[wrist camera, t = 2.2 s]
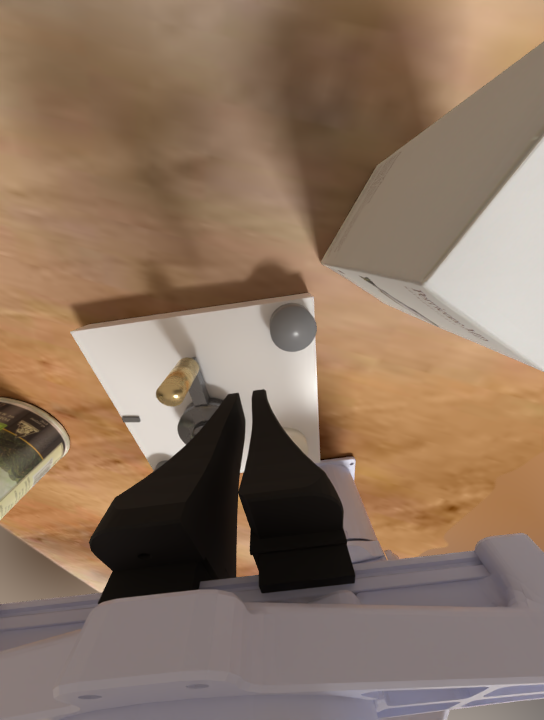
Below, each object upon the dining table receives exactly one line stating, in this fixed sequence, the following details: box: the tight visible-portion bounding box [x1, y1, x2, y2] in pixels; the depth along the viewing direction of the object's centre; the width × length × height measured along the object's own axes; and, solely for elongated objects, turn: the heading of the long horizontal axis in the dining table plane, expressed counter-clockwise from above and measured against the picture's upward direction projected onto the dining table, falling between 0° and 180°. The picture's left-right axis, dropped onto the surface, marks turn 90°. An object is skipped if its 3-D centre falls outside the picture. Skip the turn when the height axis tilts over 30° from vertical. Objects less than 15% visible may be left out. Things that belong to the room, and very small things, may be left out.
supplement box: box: [321, 42, 544, 372], centre depth 11 cm, size 7×7×13 cm
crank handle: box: [156, 357, 223, 444], centre depth 18 cm, size 11×6×5 cm, turn 8°
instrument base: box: [71, 293, 320, 473], centre depth 22 cm, size 20×20×4 cm
